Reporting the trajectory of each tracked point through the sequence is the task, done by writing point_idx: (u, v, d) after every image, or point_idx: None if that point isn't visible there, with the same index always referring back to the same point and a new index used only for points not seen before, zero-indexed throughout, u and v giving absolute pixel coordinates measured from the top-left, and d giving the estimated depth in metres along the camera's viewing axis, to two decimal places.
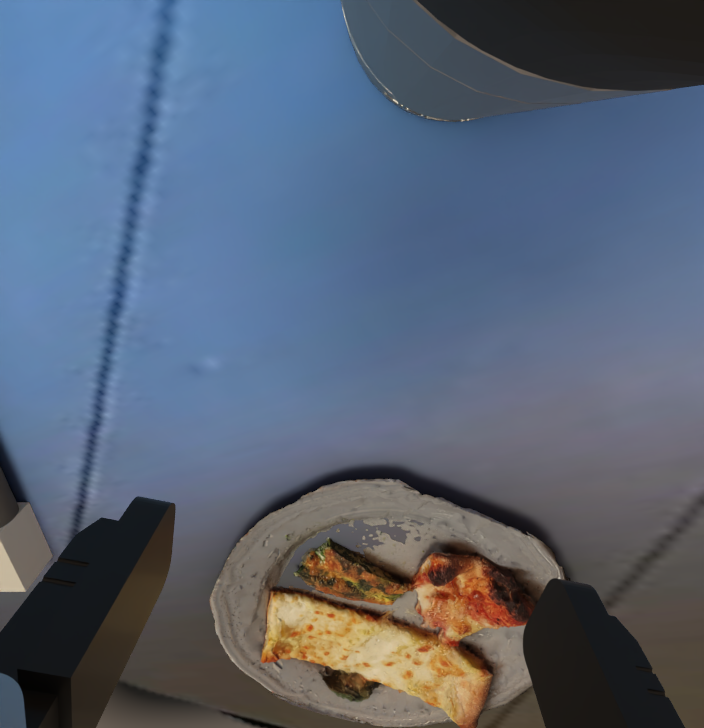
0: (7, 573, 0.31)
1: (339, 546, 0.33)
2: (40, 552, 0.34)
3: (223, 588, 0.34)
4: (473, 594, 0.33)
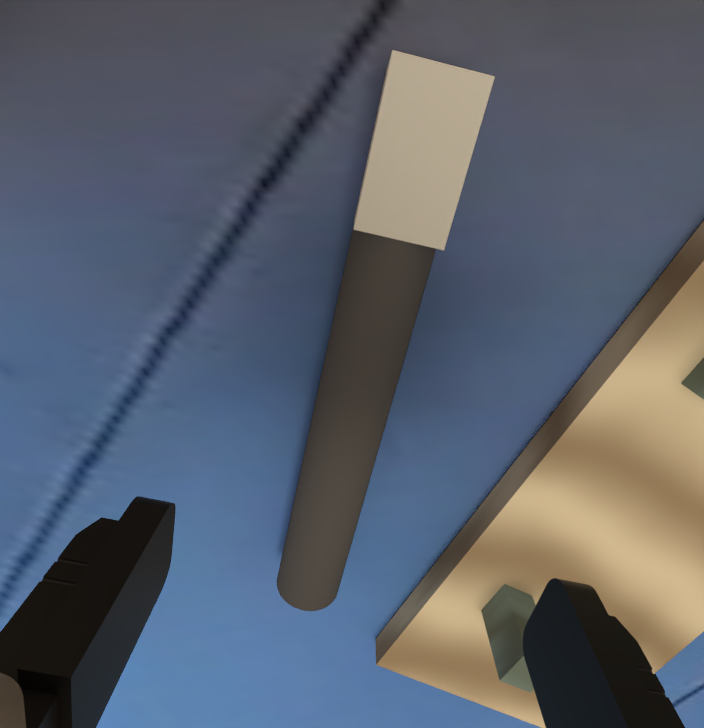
0: (399, 120, 0.14)
1: None
2: None
3: None
4: None
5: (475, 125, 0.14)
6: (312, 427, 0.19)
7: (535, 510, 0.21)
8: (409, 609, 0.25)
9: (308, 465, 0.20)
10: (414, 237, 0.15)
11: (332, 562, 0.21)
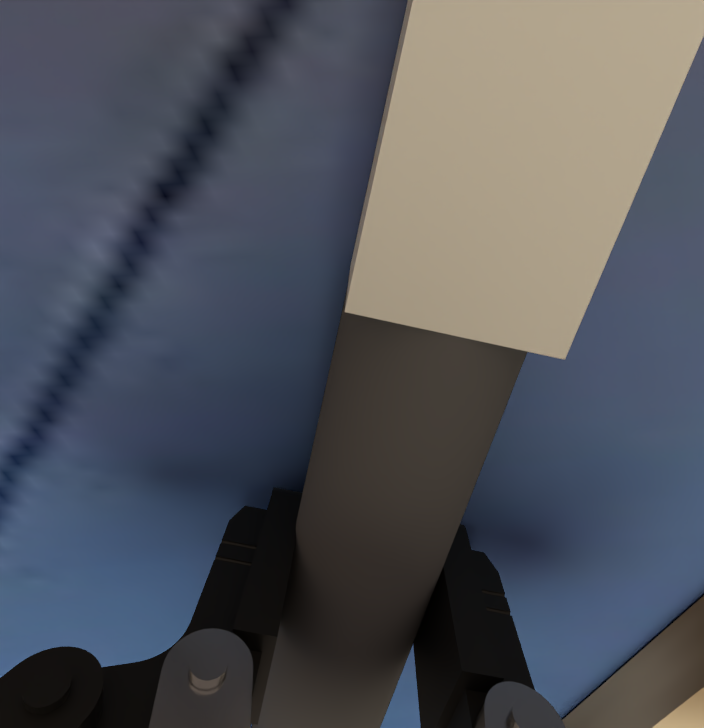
0: (472, 21, 0.05)
1: None
2: (405, 12, 0.07)
3: None
4: None
5: (689, 34, 0.05)
6: None
7: None
8: None
9: (266, 714, 0.11)
10: (493, 330, 0.06)
11: None
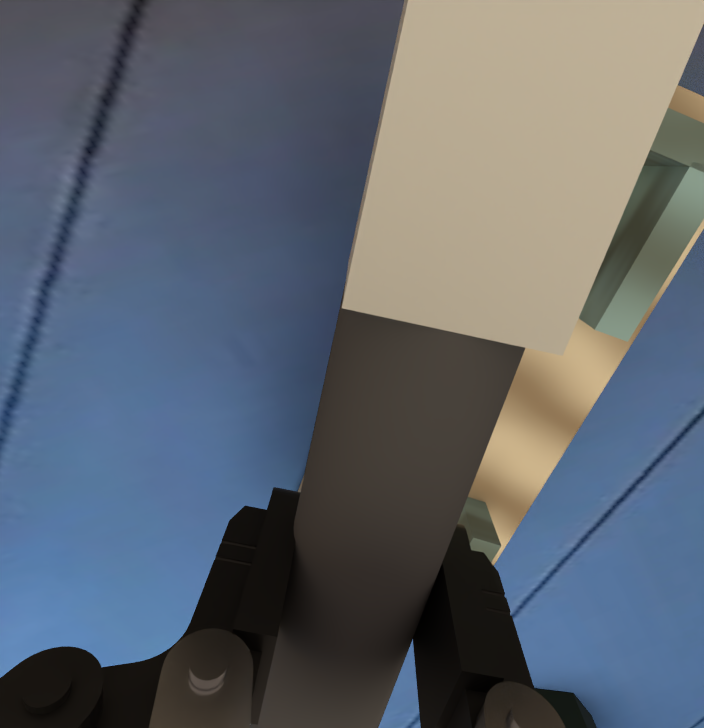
0: (468, 14, 0.05)
1: None
2: None
3: None
4: None
5: (686, 28, 0.05)
6: None
7: None
8: None
9: (265, 712, 0.11)
10: (491, 326, 0.06)
11: None
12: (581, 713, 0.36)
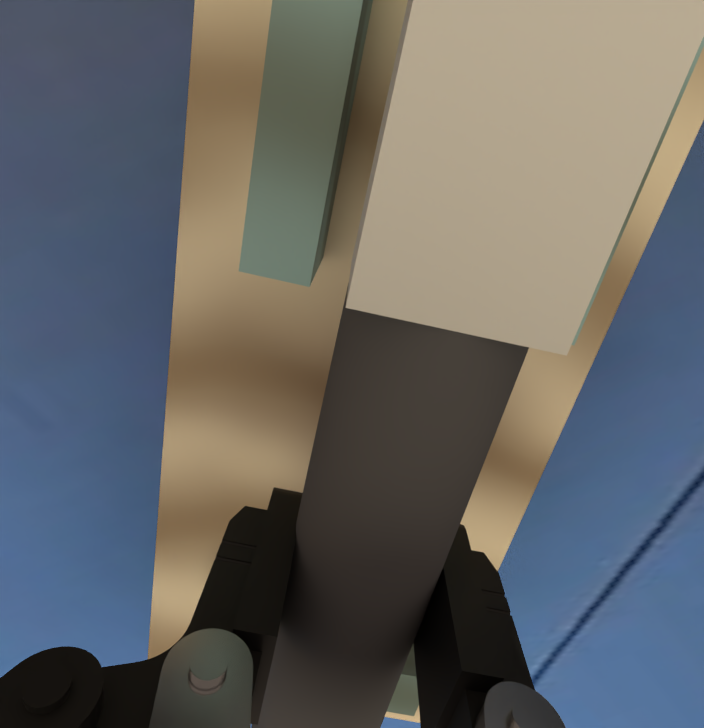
0: (475, 13, 0.05)
1: None
2: None
3: None
4: None
5: (693, 27, 0.05)
6: None
7: (200, 455, 0.17)
8: None
9: (267, 712, 0.11)
10: (495, 326, 0.06)
11: None
12: None
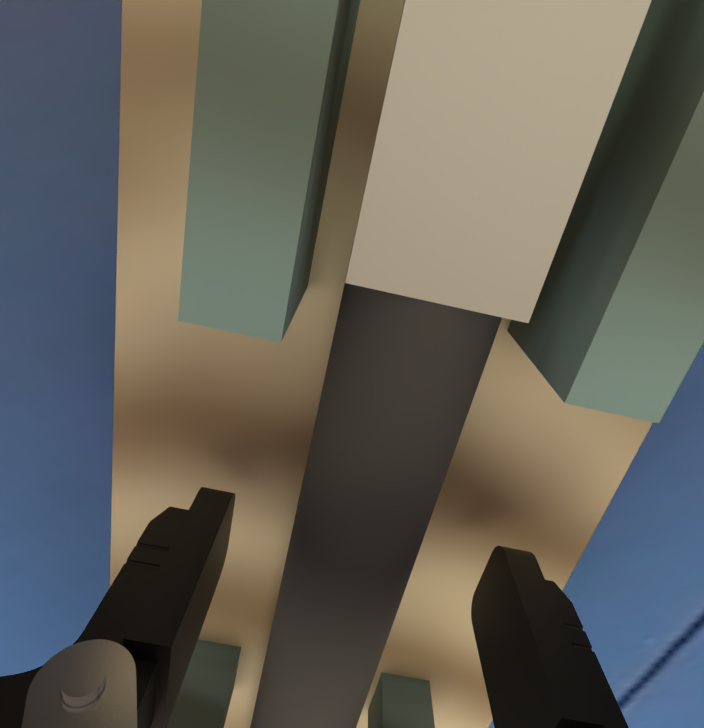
0: (445, 46, 0.06)
1: None
2: None
3: None
4: None
5: (618, 57, 0.06)
6: (282, 594, 0.12)
7: None
8: None
9: (276, 652, 0.12)
10: (468, 298, 0.08)
11: None
12: None
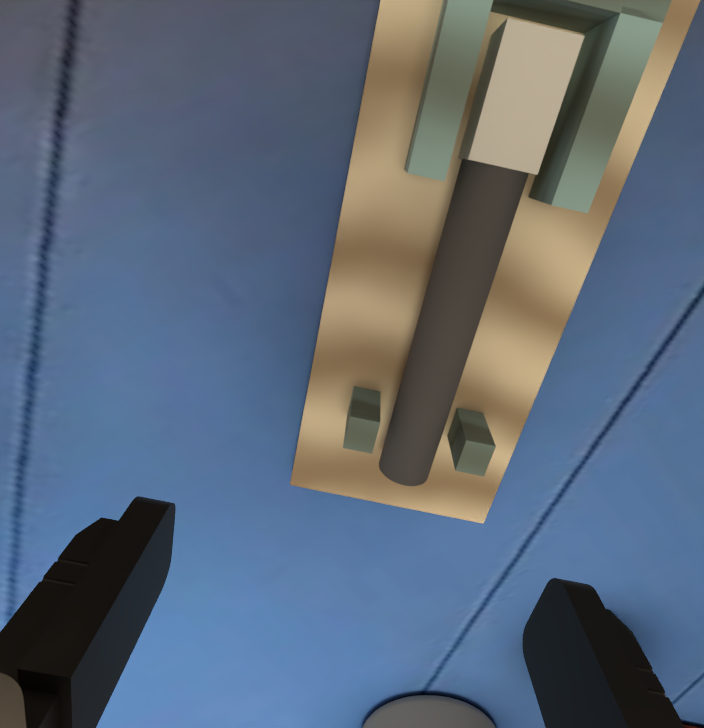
0: (509, 72, 0.19)
1: None
2: (485, 63, 0.21)
3: None
4: None
5: (567, 74, 0.19)
6: (419, 328, 0.24)
7: (346, 313, 0.26)
8: None
9: (414, 359, 0.25)
10: (514, 164, 0.20)
11: (430, 443, 0.26)
12: None
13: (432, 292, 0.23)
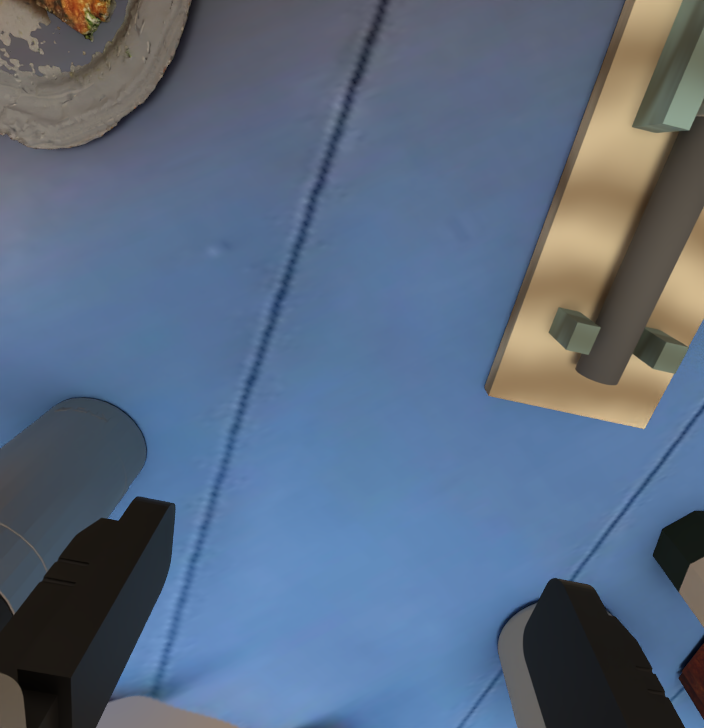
0: None
1: None
2: None
3: None
4: None
5: None
6: (635, 252, 0.31)
7: (564, 244, 0.33)
8: (501, 350, 0.37)
9: (629, 277, 0.32)
10: None
11: (631, 347, 0.33)
12: None
13: (652, 221, 0.30)
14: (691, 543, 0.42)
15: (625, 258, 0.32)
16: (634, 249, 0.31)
